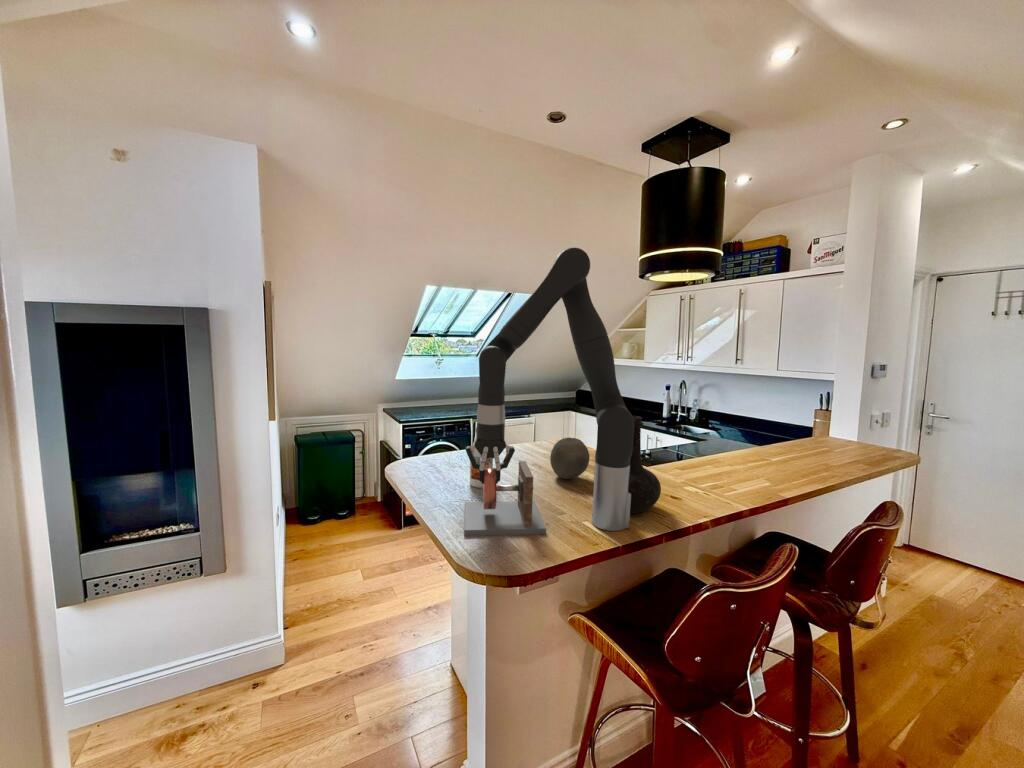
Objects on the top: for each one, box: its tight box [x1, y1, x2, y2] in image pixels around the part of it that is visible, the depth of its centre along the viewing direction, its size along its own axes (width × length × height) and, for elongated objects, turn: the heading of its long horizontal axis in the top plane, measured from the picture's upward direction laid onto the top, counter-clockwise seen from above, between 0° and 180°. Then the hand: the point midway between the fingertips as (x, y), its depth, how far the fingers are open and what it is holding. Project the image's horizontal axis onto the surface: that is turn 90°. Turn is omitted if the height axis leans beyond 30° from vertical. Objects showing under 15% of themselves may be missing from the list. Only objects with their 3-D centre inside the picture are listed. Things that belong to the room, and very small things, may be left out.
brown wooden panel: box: [517, 460, 534, 525], centre depth 114 cm, size 3×14×13 cm, turn 6°
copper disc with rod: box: [482, 467, 534, 509], centre depth 113 cm, size 14×11×11 cm
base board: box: [463, 500, 547, 537], centre depth 114 cm, size 21×18×2 cm
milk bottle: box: [469, 426, 494, 489], centre depth 140 cm, size 8×8×20 cm
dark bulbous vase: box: [628, 415, 662, 514], centre depth 124 cm, size 18×18×28 cm
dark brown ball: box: [549, 437, 591, 480], centre depth 149 cm, size 14×14×15 cm
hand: (489, 482), depth 113 cm, fingers closed on copper disc with rod, 3 cm apart
